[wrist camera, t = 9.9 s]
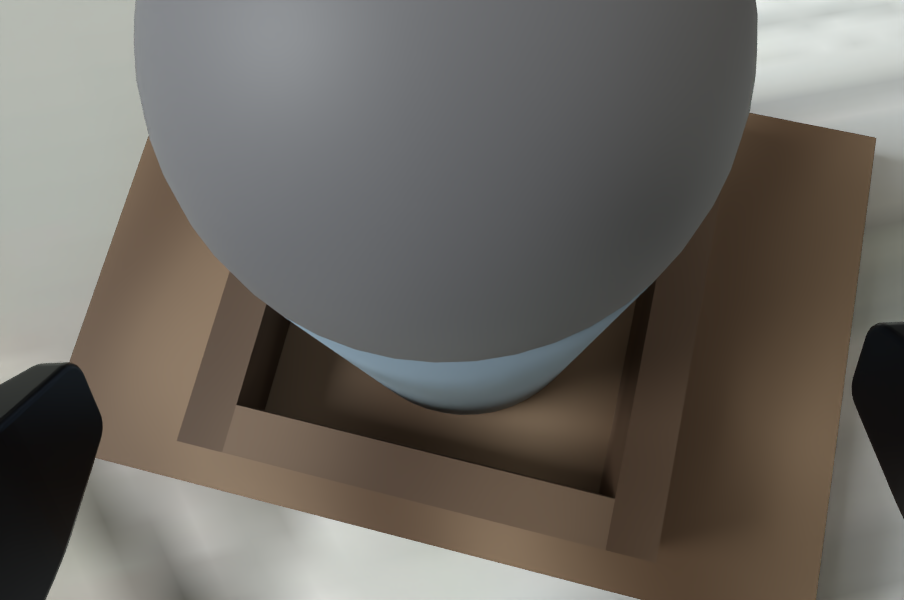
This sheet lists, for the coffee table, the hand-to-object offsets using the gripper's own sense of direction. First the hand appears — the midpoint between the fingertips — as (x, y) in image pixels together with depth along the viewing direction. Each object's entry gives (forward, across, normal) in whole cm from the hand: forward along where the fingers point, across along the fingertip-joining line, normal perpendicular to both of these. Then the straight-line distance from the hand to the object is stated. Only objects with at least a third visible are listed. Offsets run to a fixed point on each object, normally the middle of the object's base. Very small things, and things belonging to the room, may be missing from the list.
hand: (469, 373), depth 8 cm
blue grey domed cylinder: (+8, 0, +4) cm, 9 cm away
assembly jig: (+9, 0, +5) cm, 11 cm away
